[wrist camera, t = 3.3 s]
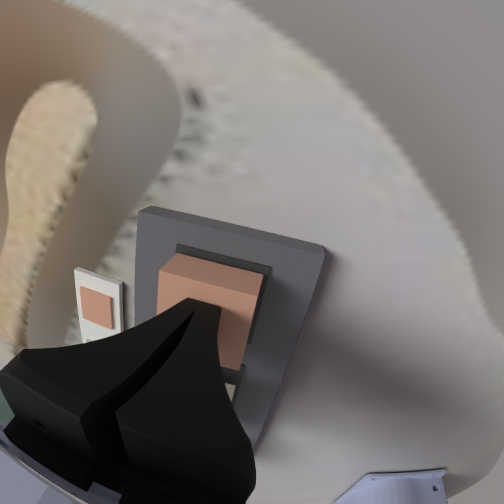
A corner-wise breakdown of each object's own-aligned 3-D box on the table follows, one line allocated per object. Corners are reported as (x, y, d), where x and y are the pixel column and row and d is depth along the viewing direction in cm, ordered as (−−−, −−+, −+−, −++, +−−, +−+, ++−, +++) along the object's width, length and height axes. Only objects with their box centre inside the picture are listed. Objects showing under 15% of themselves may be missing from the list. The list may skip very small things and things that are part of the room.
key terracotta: (263, 274, 12) (257, 296, 10) (246, 344, 13) (239, 370, 11) (177, 252, 12) (158, 270, 10) (171, 323, 13) (155, 345, 12)
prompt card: (122, 282, 15) (117, 286, 14) (127, 381, 18) (124, 387, 17) (78, 267, 15) (72, 270, 15) (90, 365, 18) (86, 370, 18)
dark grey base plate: (322, 245, 13) (325, 256, 12) (248, 452, 19) (245, 466, 18) (150, 205, 13) (136, 212, 12) (148, 423, 20) (142, 435, 18)
